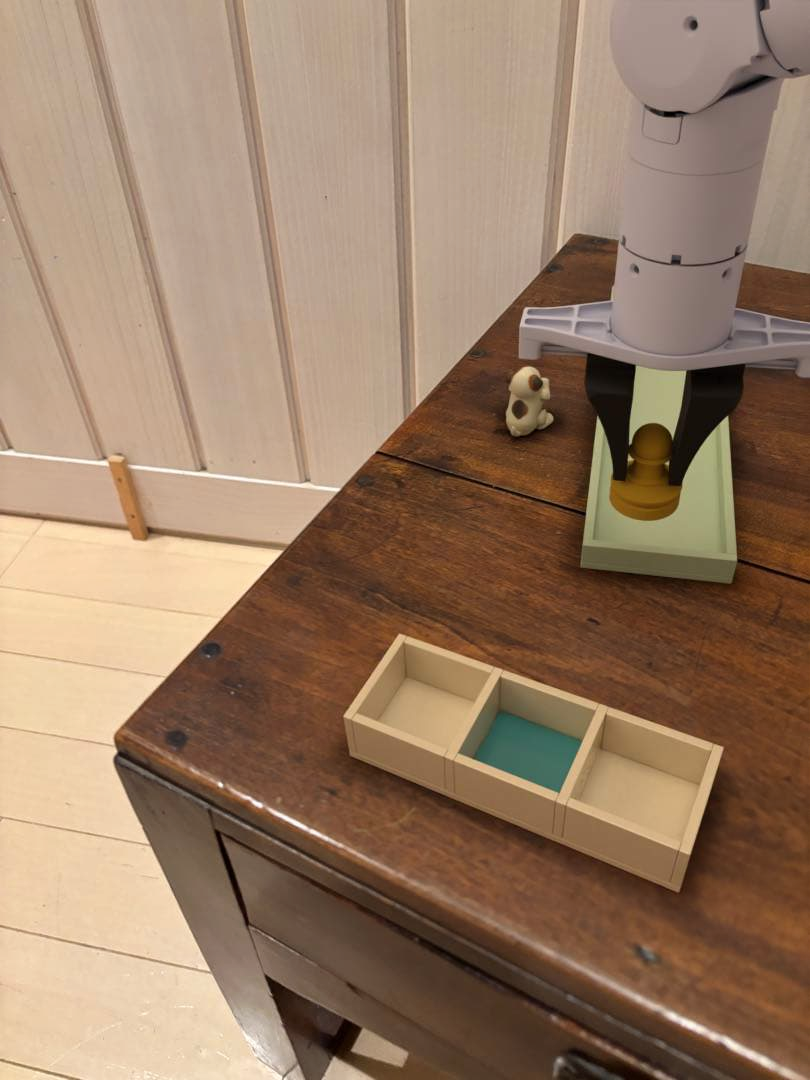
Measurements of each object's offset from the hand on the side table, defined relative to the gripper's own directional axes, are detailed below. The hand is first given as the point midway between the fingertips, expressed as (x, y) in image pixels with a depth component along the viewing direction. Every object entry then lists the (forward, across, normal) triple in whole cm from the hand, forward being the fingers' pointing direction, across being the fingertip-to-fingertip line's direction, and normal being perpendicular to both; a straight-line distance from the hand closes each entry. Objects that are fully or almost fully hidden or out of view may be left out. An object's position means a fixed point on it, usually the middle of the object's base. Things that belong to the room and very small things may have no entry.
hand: (647, 472), depth 51 cm
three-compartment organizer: (+9, +5, +15) cm, 18 cm away
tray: (+9, -1, -18) cm, 20 cm away
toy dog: (+9, +9, -16) cm, 20 cm away
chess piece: (+2, 0, 0) cm, 2 cm away
